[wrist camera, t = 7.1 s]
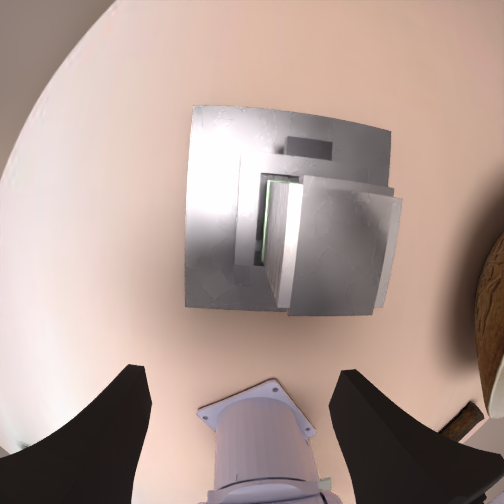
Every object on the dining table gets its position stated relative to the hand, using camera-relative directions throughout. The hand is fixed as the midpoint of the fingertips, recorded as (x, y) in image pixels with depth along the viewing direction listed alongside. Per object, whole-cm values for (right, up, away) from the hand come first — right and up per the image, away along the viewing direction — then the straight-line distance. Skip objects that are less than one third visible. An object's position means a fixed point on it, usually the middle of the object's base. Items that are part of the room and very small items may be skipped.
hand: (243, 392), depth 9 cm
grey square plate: (+3, +8, +9) cm, 12 cm away
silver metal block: (+3, +7, +5) cm, 9 cm away
